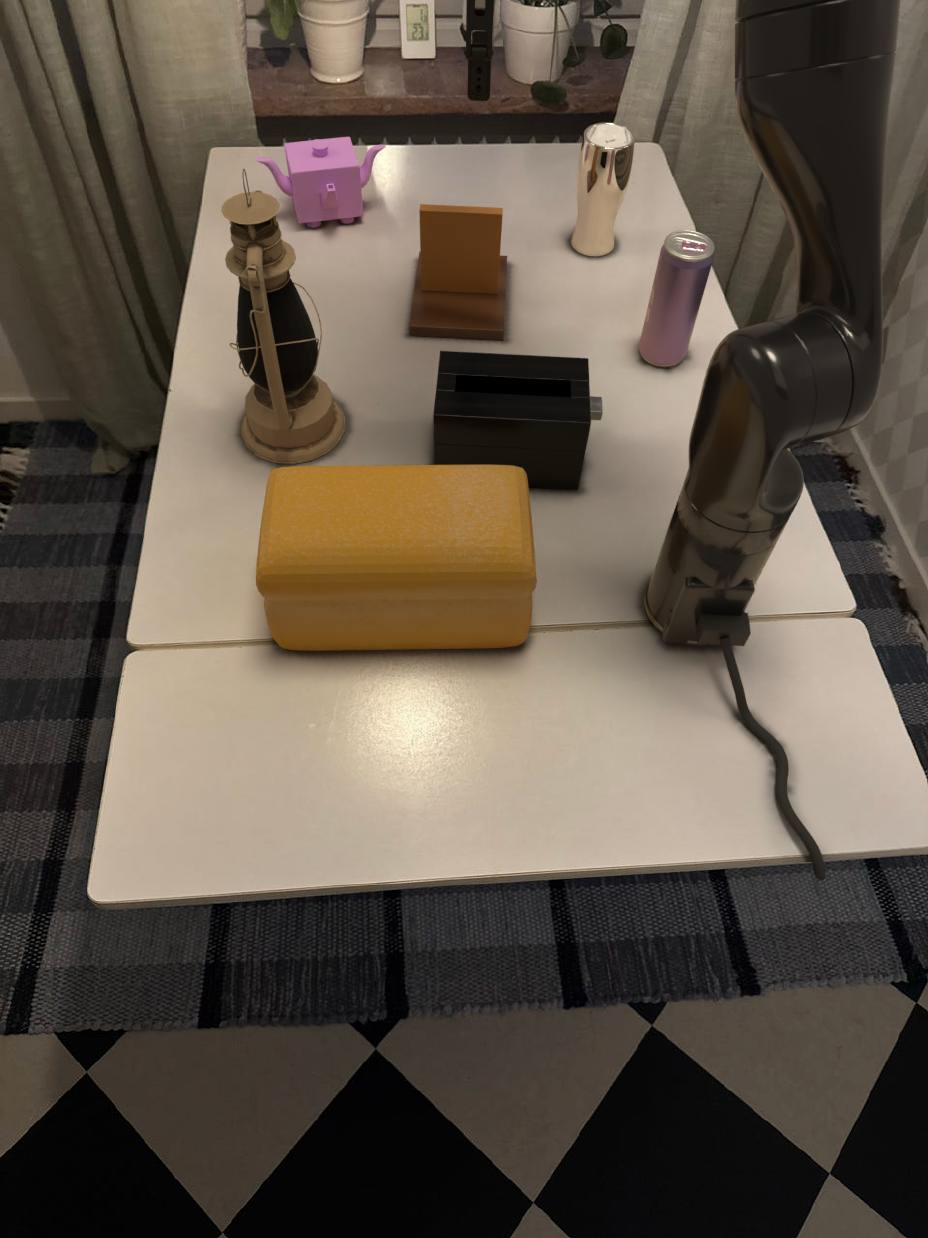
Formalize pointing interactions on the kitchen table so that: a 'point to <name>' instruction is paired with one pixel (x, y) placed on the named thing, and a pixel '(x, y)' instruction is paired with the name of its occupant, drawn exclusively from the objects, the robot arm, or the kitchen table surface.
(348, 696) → the kitchen table surface
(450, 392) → the toaster
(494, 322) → the board
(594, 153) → the beer glass
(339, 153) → the teapot
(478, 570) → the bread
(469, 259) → the toast
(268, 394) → the lantern
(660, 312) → the beverage can
